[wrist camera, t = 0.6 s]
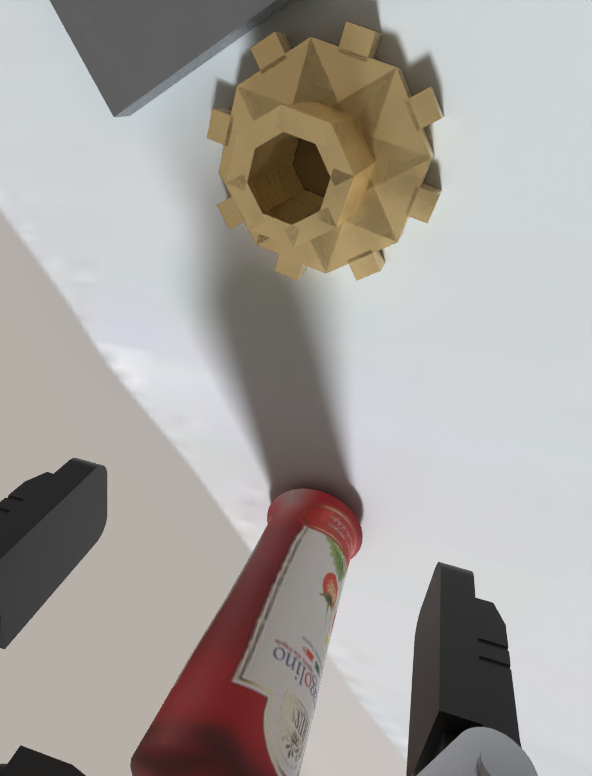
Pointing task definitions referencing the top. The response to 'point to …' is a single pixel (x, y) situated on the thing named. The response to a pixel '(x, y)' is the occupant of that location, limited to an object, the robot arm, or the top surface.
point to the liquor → (260, 652)
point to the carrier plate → (153, 41)
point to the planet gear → (326, 152)
